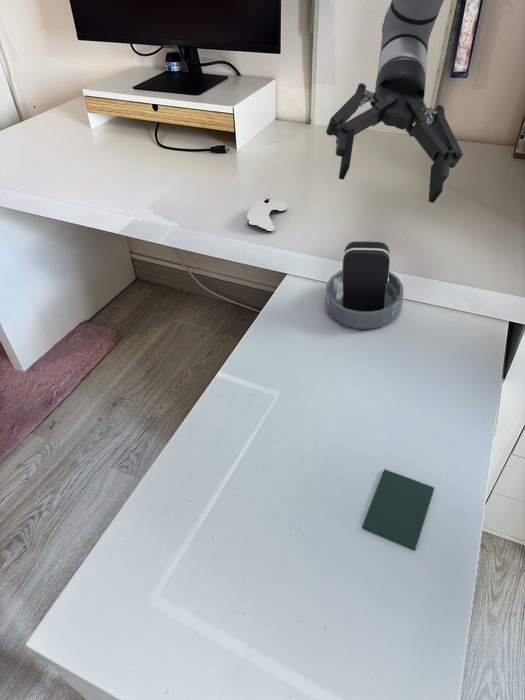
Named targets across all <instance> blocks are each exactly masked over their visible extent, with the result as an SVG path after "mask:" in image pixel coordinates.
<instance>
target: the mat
mask: <svg viewBox="0 0 525 700" xmlns="http://www.w3.org/2000/svg"><path fill="white" fill-rule="evenodd" d="M434 490H435V487H434V486H431V485H429V484H426V483H423V482H420V481H417V480H415V479H412V478H410V477H406V476H404V475H402V474H399V473H396V472H394V471H391V470H388V469H386V468H385V469H383V471H382V474H381V477H380V480H379V482H378V485H377V488H376V490H375V493H374V495H373V497H372V500H371V503H370V505H369V507H368V510H367V513H366V516H365V518H364V521H363V523H362V526H361V529H363V530H366V531H368V532H371V533H373V534H375V535H378V536H380V537H382V538H385V539H387V540H390V541H392V542H394V543H397V544H399V545H401V546H403V547H406V548H408V549H411V550H414V551H416V549H417V547H418V546H417V545H418V542H419V539H420V537H421V536H420V535H421V533H422V529H423V527H424V523H425V520H426V516H427V513H428V511H429V506H430V503H431V499H432V496H433V493H434V492H435V491H434Z"/></svg>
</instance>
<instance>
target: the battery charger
mask: <svg viewBox="0 0 525 700" xmlns="http://www.w3.org/2000/svg"><path fill="white" fill-rule="evenodd" d="M341 267H342V269H341V270H342V284H343V302H342V306H343V307H345V308H347V309H354V310H382V309H384V307H385V296H386V289H387V284H388V278H389V271H390V267H391V256H390V248H389V246H388V245H387V244H386V243H384V242H381V241H352V242H351V241H350V242H349V243H348V244H347V245H346V246H345V248H344V252H343V257H342V266H341Z"/></svg>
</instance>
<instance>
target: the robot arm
mask: <svg viewBox="0 0 525 700" xmlns="http://www.w3.org/2000/svg"><path fill="white" fill-rule="evenodd" d="M444 1H445V0H391V2H390V4H389V6H388V8H387V9H386V12H385V15H384V19H383V23H382V26H381V43H380V44H381V45H380V53H379V58H378V59H379V60H378V68H377V73H376V80H375V89H374V92H373V91H369V90H367V85H366V84H365V83H362V82H361V83H358V85H357V88H356V91H355V93H354V94H353V95H352V96H351V97H350V98H349V99H348V100H347V101H346V102H345V103H344V104H343V105H342V106H340V108H339V109H338V110H337V111H336V112H335V113H334V114H333V115H332V116H331V117H330V119H329V121H328V125H327V127H326V130H325V133H326V135H328V136H330V137H331V136H334V137H335V138H336V140H335V144H336V147H335V155H336V156H338V157H341V160H340V167H339V173H338V179H339V180H342V181H343V180H345V177H346V176H347V174H348V171H349V169H350V168H351V167H350V166H351V159H352V152H353V147H354V146H353V145H354V138H355V136H356V135H357V134H360V133H361V132H363V131H365V130H366V129H368V128H370V127H375V126H376V125H378V124H380V123H381V122H382V123H383V125H384V126H387V127H395V128H396V129H399V130H402V131H404V130H405V131H406V133H407V134H408V135H409V136H410V137H414V139H415V140H416V141H417V143H418V144H419V146H421V148H422V150H424V152H425V153H426V154H427V156H428V157H429V158H430V160H431V161H432V162H433V163H432V165H431V166H430V173H429V174H430V176H429V187H428V188H429V190H428V202H429V203H432V204H434V203H435V202H436V201H437V200H438V198H439V196H440V195H441V194H442V192H443V189H444V187H443V186H444V183H445V181H446V180H447V179H448V177H449V175H450V168H451V169H453V168H455V167H456V166H457V164H458V163H459V161H460V160H462V157H463V156H464V153H463V150H462V149H461V147H460V145H459V143H458V140H457V138H456V137H455V134H454V132H453V131H452V129H451V126H450V124H449V123H448V120H447V119H446V115H445V114H446V113H445V107H444V106H443V105H441V104H437V105H436V107H435V108H433V107H432V108H431V107H427V105H426V103H425V92H426V81H427V68H428V52H429V51H428V50H429V42H430V37H431V35H432V31H433V28H434V26H435V24H436V21H437V18H438V16H439V14H440V11H441V9H442V6H443V4H444ZM366 103H370V106H371V107H370V108H368V109H367V110H364V111H363V112H362V113H359V114H358V115H356V116H354V117H353V118H351V117H352V116H353V115H354V114H355V113H356V112H357V111H358V109H359V107H360V108H361V107H363V106H364V105H366ZM350 118H351V119H350Z"/></svg>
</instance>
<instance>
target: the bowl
mask: <svg viewBox="0 0 525 700" xmlns="http://www.w3.org/2000/svg"><path fill="white" fill-rule="evenodd" d="M391 272H392V271H390V272H389V281H388V284H387V289H386V296H385V307H384V309H382V310H354V309H347V308H345V307H343V306H342V302H343V284H342V269H341V270H339V271H337V272H336V273H334V274H333V275H332V276H331V277H330V278H329V280H328V282H327V283H326V288H325V306H326V309H327V312H328V314H329V315H330V316H331V317H332V318H333V320H334V321H336V322H338V323H339V324H341V325H344V326H346V327H350V328H353V329H358V330H359V329H362V330H371V329H376V328H381V327H383V326H385V325H388V324H391V323H392V322H393V321H394V320H395V319H396V318H397V317H399V314H400V313H401V311H402V306H403V300H404V285H403V283H402V280H400V278H399V277H398V276H397V275H395V274H394V273H393V272H392V273H391Z"/></svg>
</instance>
